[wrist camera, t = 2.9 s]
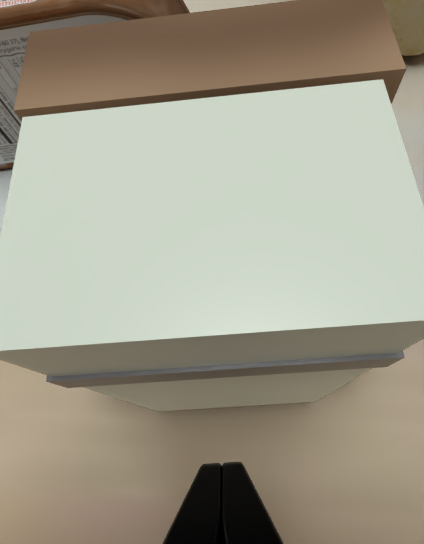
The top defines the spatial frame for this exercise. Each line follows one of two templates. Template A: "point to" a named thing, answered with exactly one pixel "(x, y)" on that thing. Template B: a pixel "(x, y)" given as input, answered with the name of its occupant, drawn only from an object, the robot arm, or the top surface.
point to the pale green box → (214, 247)
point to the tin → (52, 15)
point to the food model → (407, 24)
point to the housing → (208, 55)
